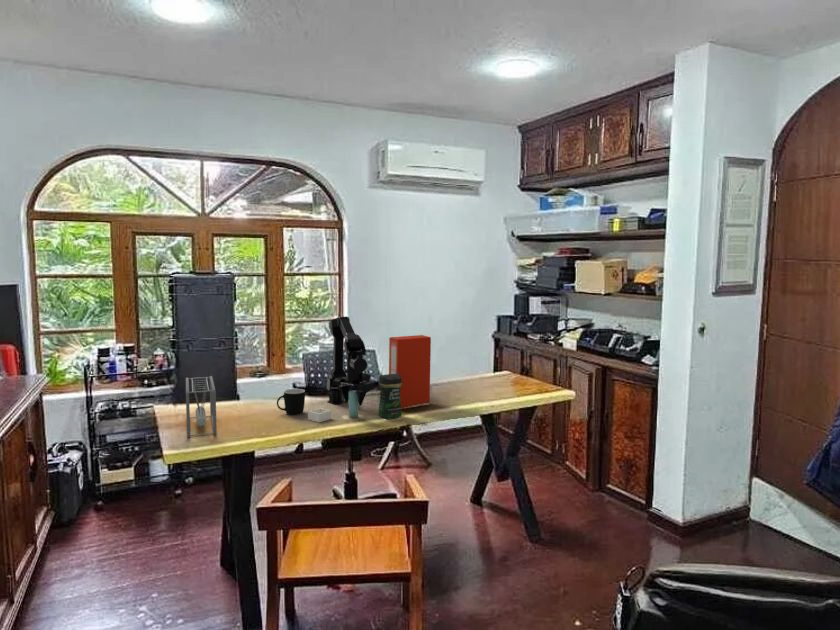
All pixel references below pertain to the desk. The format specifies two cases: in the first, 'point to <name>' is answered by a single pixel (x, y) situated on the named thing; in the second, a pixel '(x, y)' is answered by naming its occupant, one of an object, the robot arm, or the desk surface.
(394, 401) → the coffee jar
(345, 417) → the coaster
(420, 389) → the file binder
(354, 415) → the dowel
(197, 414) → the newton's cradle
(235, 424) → the desk surface
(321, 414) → the white square tray
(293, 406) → the mug
